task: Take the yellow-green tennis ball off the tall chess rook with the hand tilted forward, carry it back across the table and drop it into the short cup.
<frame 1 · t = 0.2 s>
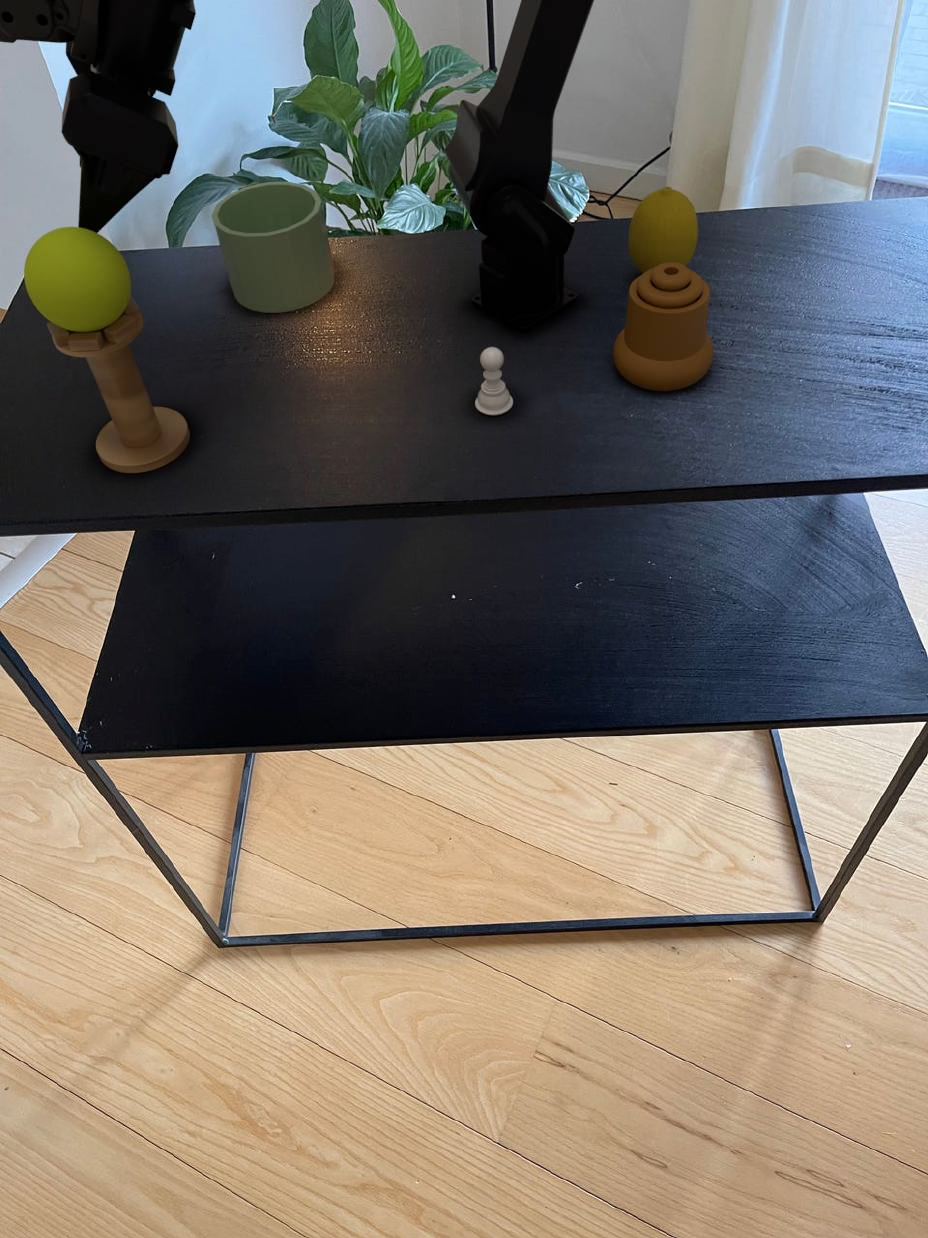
hand: (86, 199, 67), 15 cm above the table, tool tilted 35°, fingers open, 9 cm apart
chess rook: (144, 443, 73), on the table
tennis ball: (78, 280, 63), point 13 cm above the table, touching chess rook
ornamental finial: (661, 368, 75), on the table
lemon: (658, 282, 83), on the table
chess pawn: (494, 406, 73), on the table
cup: (284, 283, 86), on the table
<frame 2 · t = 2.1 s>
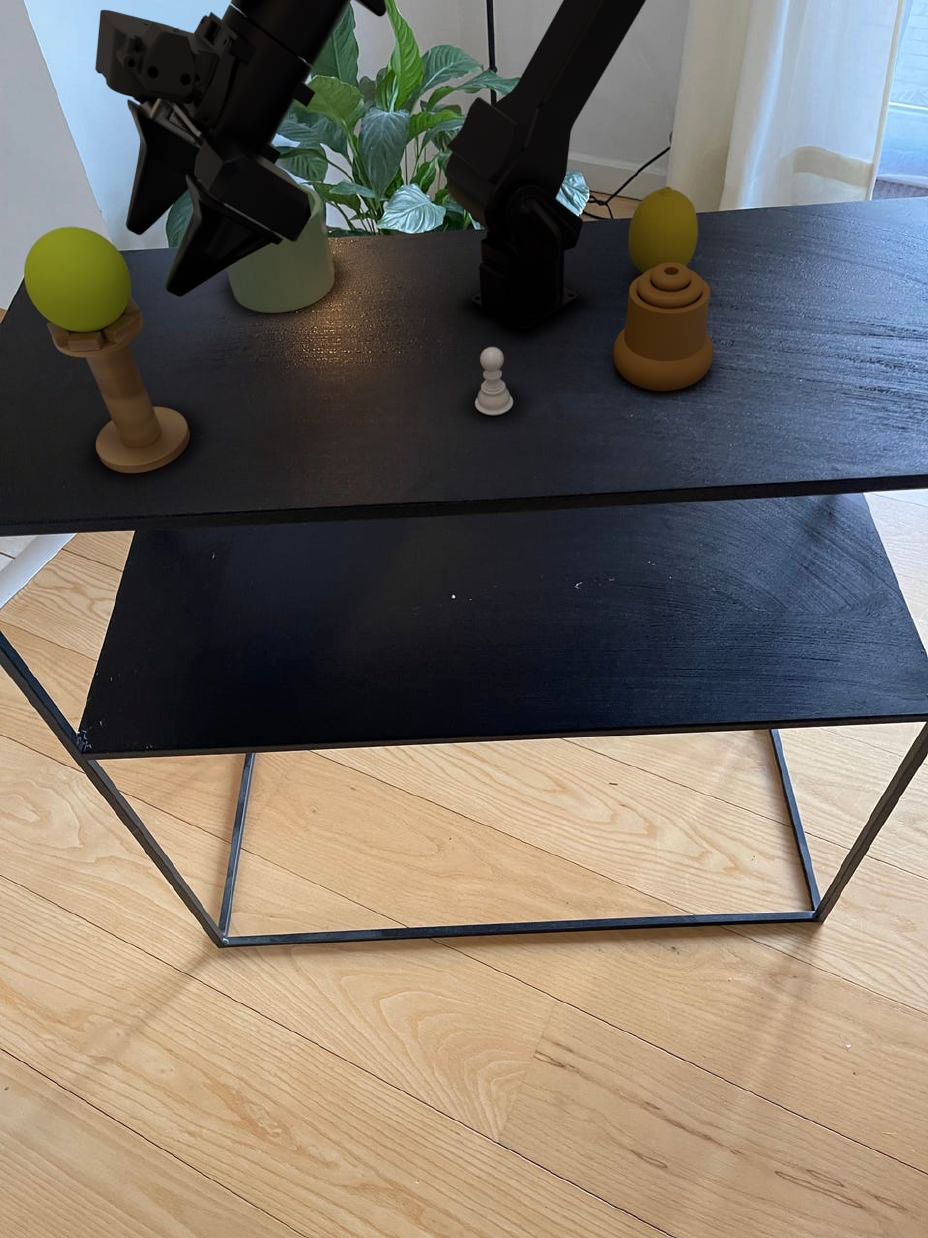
hand: (151, 260, 64), 13 cm above the table, tool tilted 45°, fingers open, 9 cm apart
nothing on the table moved.
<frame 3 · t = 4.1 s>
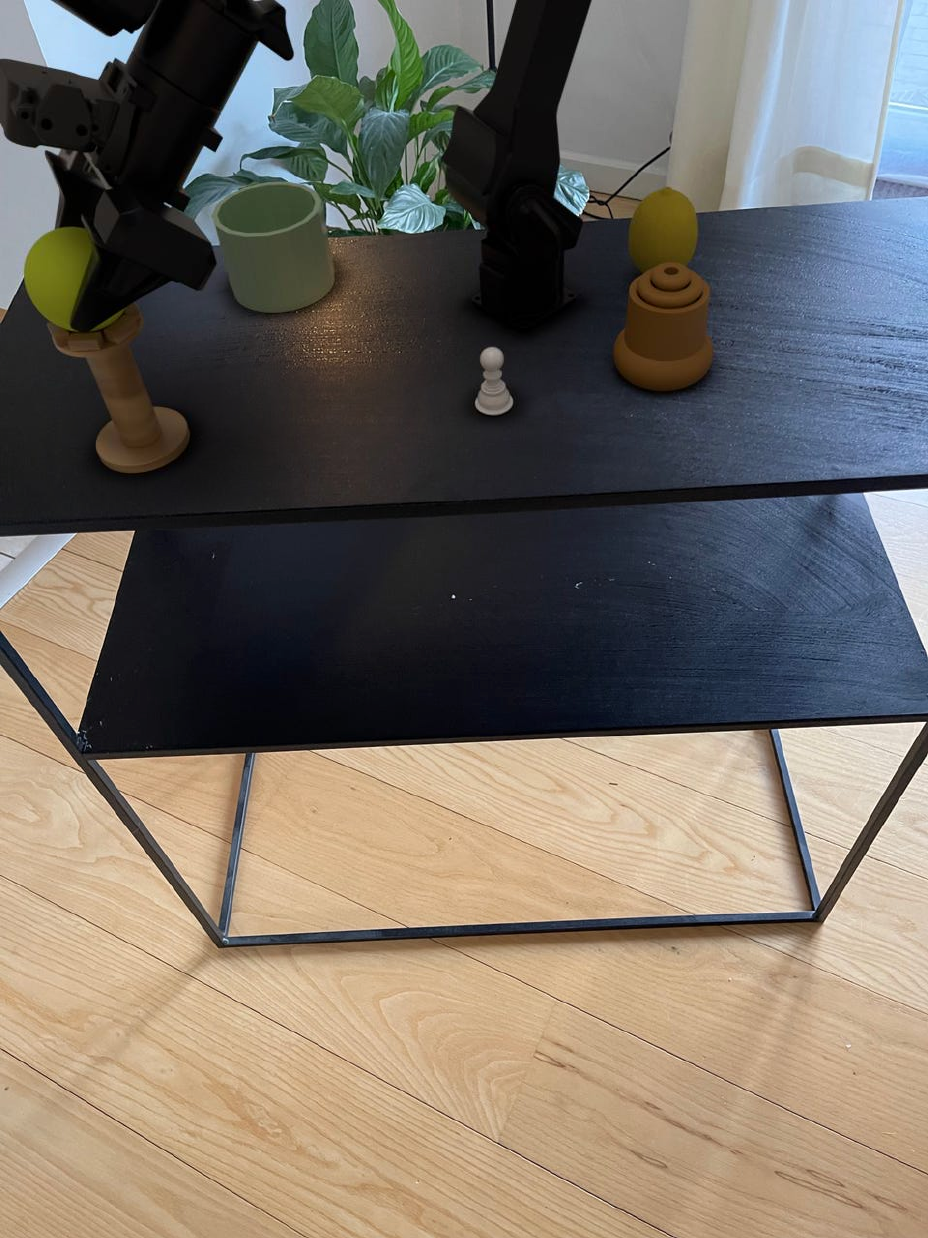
hand: (65, 305, 64), 12 cm above the table, tool tilted 45°, fingers closed on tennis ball, 6 cm apart
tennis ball: (78, 280, 63), point 13 cm above the table, touching chess rook, gripper
everything else where it was.
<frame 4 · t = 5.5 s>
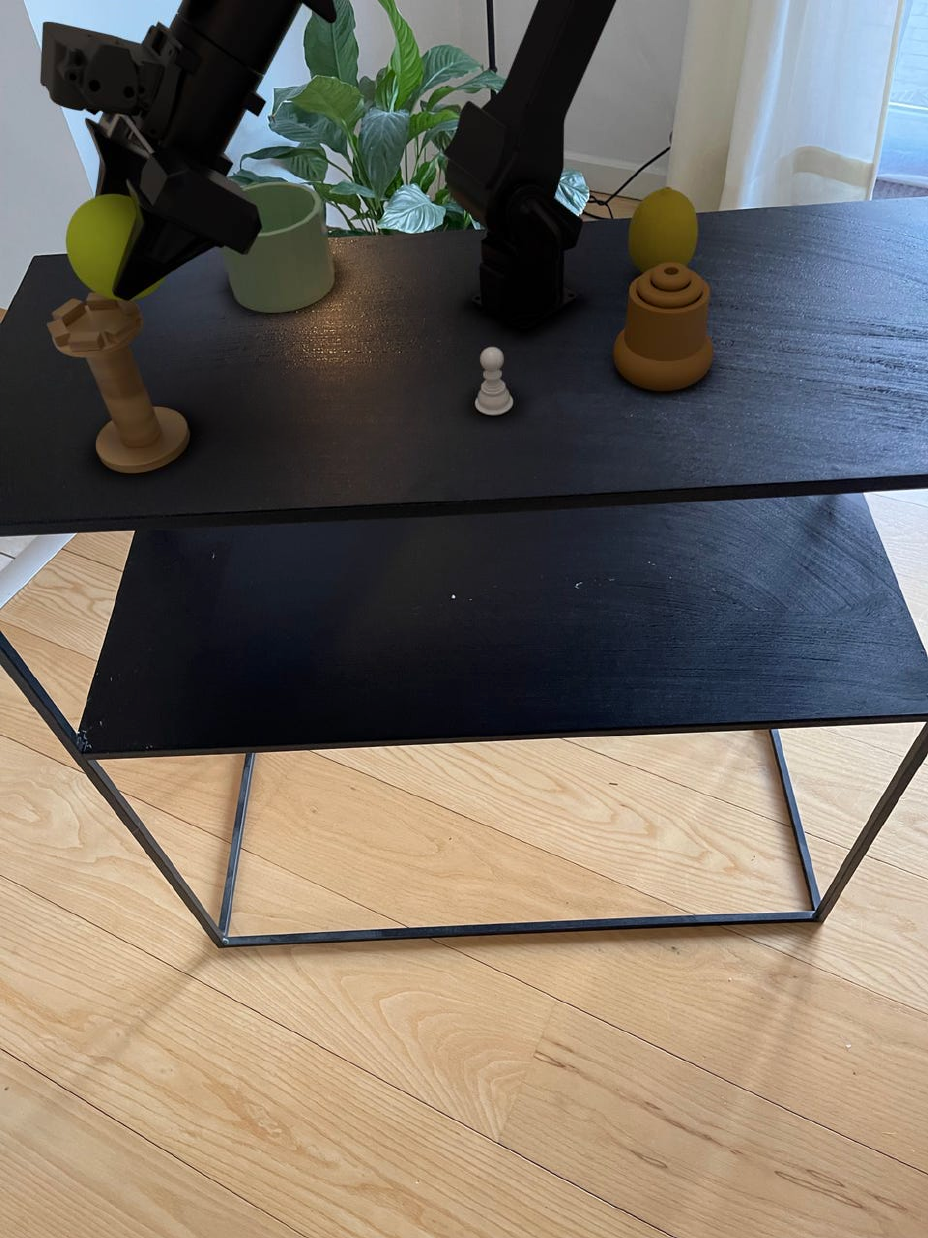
hand: (106, 274, 63), 13 cm above the table, tool tilted 45°, fingers closed on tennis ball, 6 cm apart
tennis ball: (119, 248, 63), point 15 cm above the table, touching gripper
everything else where it was.
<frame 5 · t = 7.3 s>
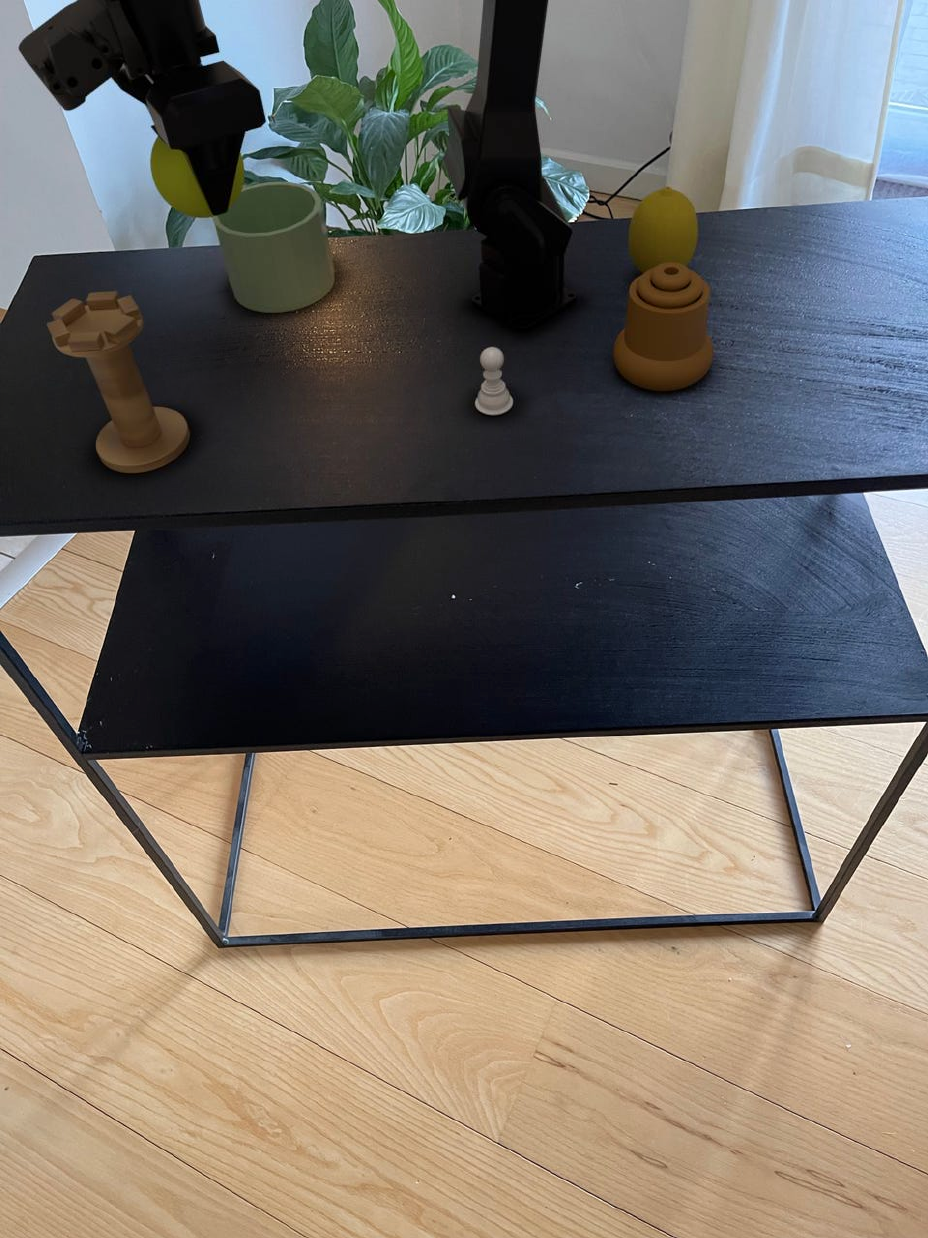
hand: (205, 194, 70), 13 cm above the table, tool pointing down, fingers closed on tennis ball, 6 cm apart
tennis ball: (197, 168, 69), point 15 cm above the table, tilted 45°, touching gripper
everything else where it was.
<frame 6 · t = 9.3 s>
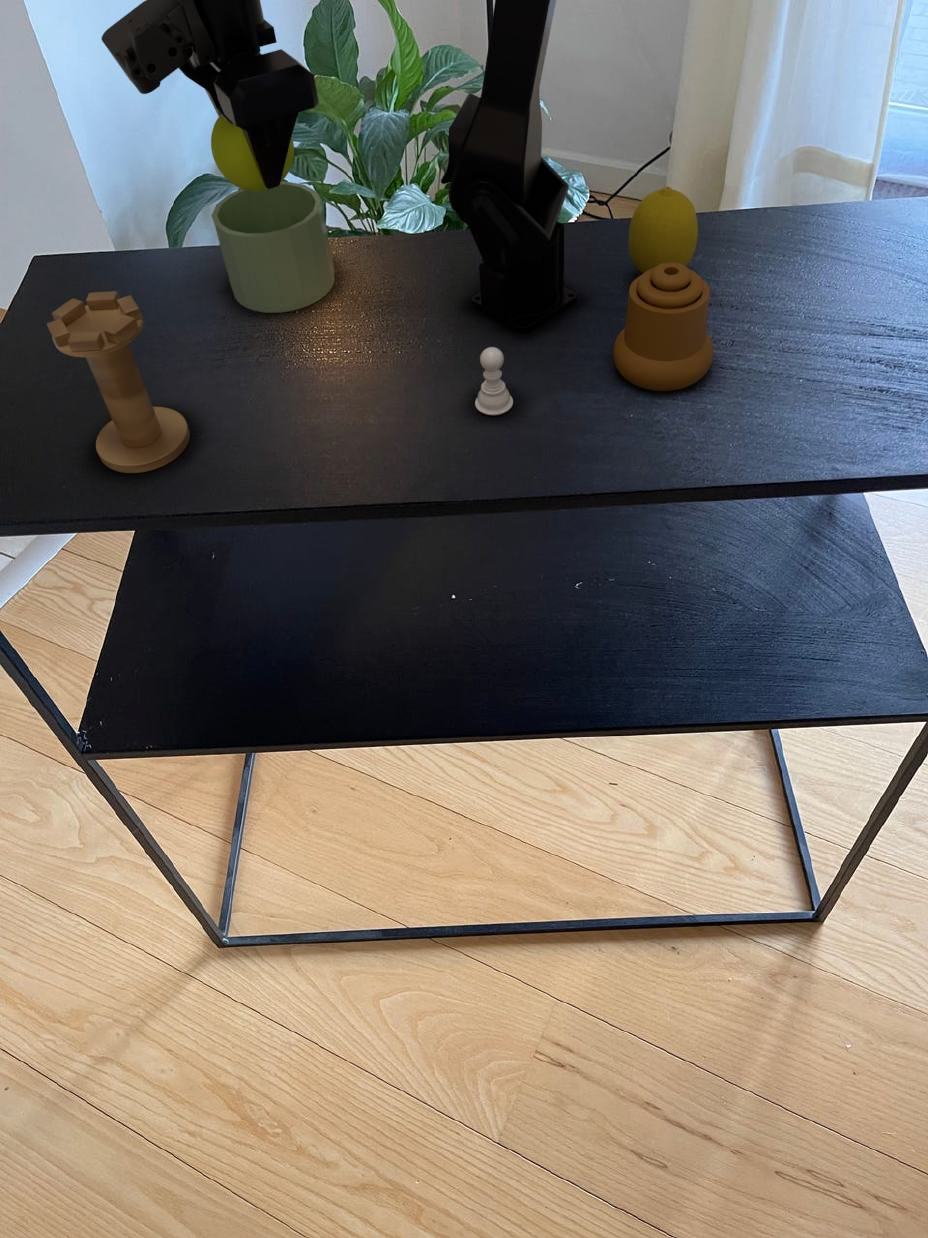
hand: (258, 171, 79), 10 cm above the table, tool pointing down, fingers closed on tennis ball, 6 cm apart
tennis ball: (252, 147, 77), point 12 cm above the table, tilted 45°, touching gripper
everything else where it was.
when the fingers open (7 cm above the table, at t = 10.7 s): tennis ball drops 5 cm, resting on cup.
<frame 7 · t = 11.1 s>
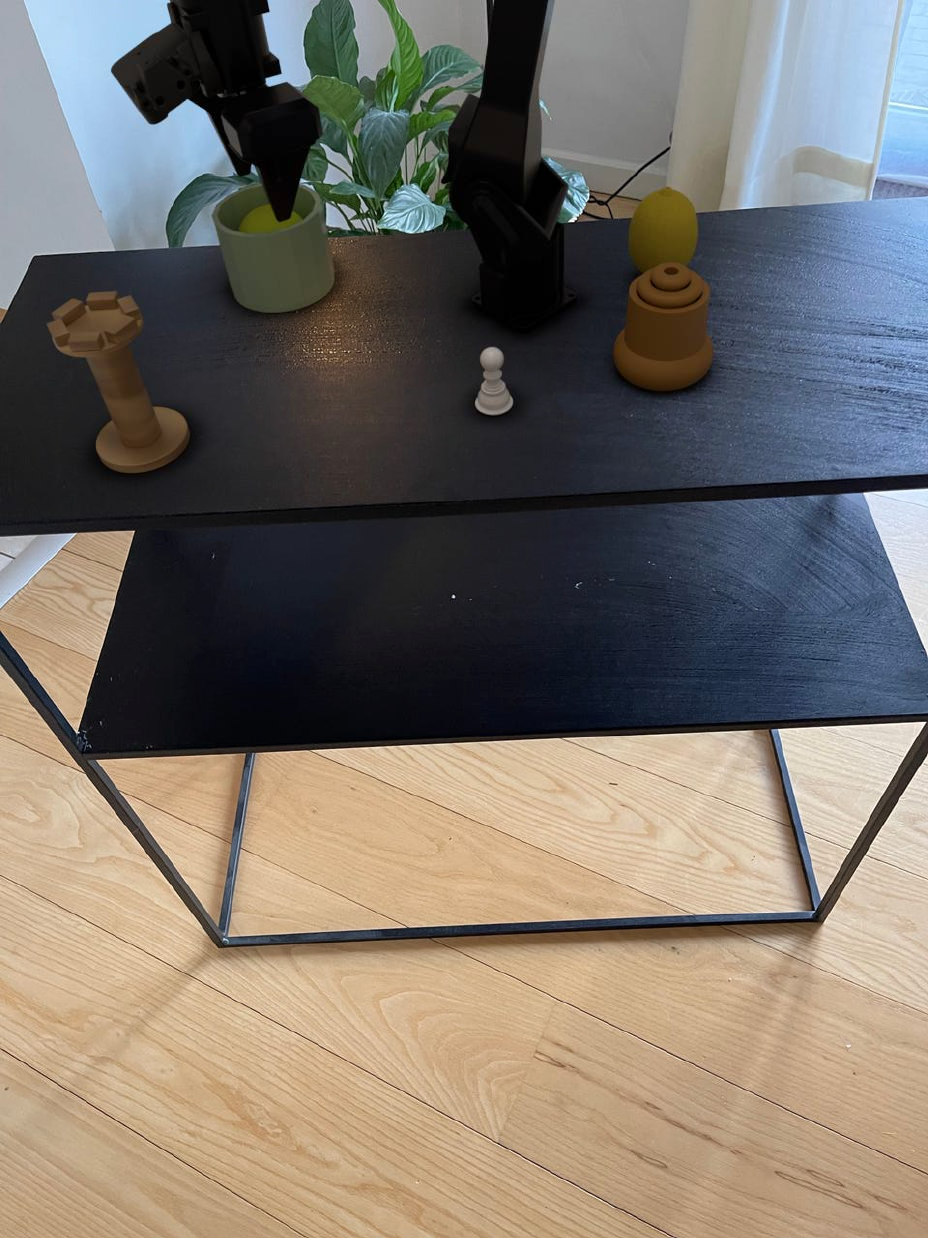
hand: (263, 196, 80), 8 cm above the table, tool pointing down, fingers open, 9 cm apart
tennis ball: (275, 244, 83), point 4 cm above the table, tilted 45°, touching cup
everything else where it was.
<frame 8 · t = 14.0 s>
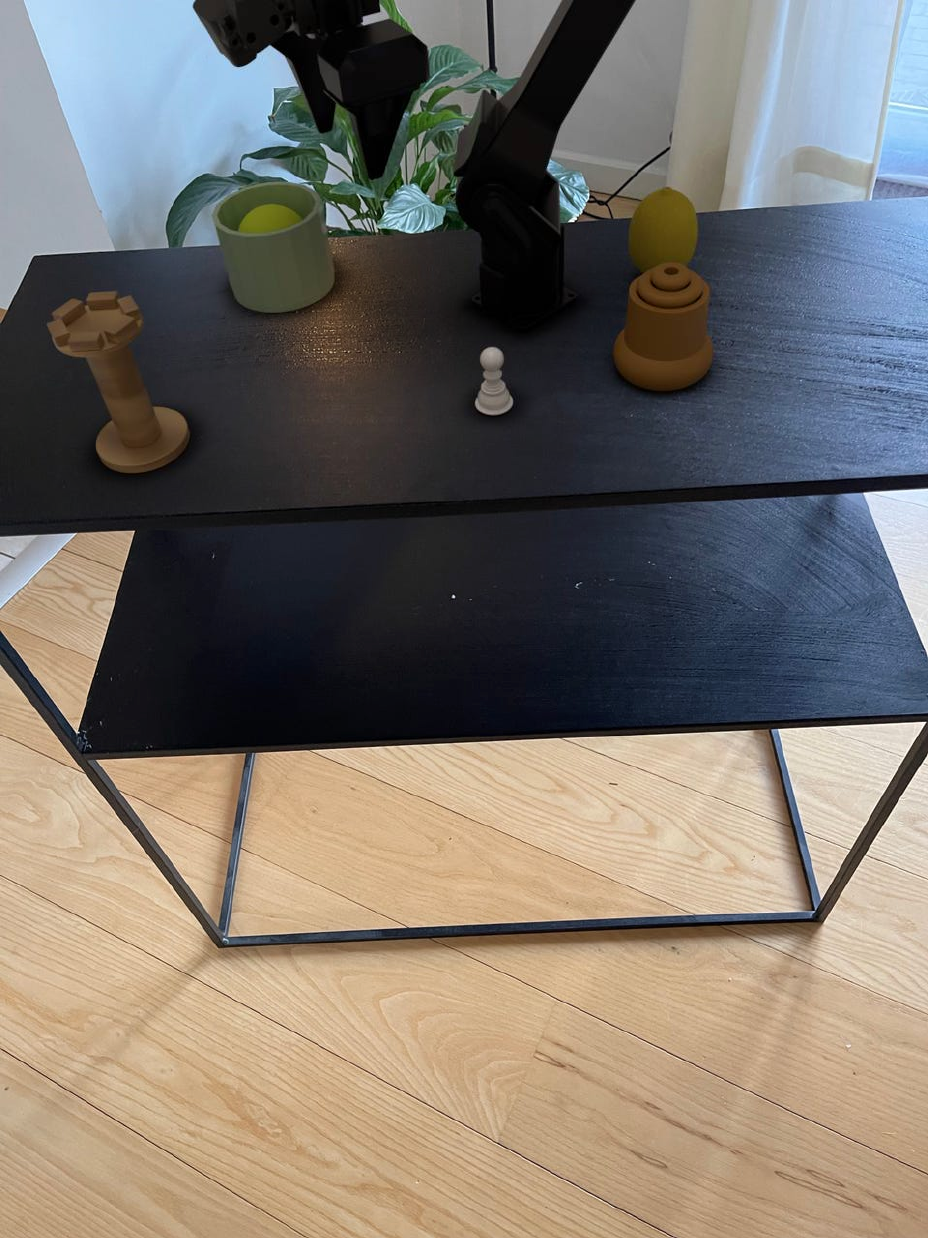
hand: (349, 153, 73), 13 cm above the table, tool pointing down, fingers open, 9 cm apart
nothing on the table moved.
at the end: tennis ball 0.1 cm off-centre in the cup, point 3.7 cm above the cup's base; the gripper is holding nothing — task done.
